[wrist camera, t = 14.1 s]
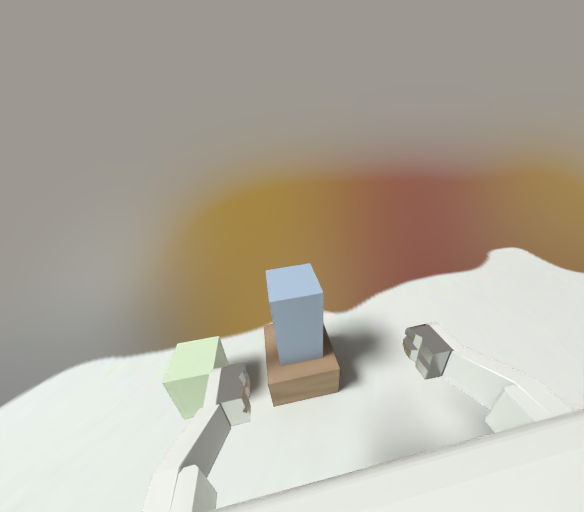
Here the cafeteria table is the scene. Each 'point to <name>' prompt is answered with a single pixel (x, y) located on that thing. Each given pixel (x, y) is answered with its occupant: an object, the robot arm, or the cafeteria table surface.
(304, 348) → the pillar
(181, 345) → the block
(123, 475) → the cafeteria table surface
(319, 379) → the walnut block
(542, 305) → the cafeteria table surface
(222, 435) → the robot arm
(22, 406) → the cafeteria table surface
